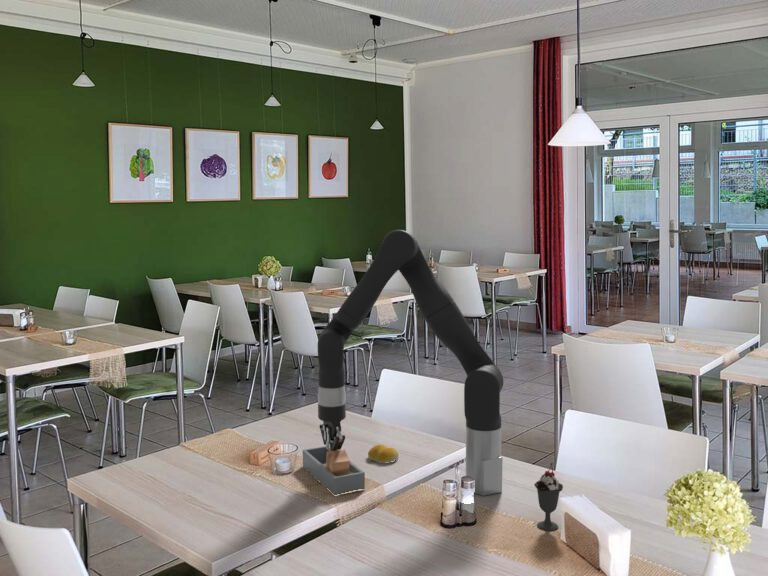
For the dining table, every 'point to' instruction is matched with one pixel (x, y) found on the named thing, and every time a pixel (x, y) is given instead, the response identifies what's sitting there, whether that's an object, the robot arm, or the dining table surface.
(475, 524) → the dining table surface
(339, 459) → the block
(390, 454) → the bread roll
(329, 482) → the trap box
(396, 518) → the dining table surface
